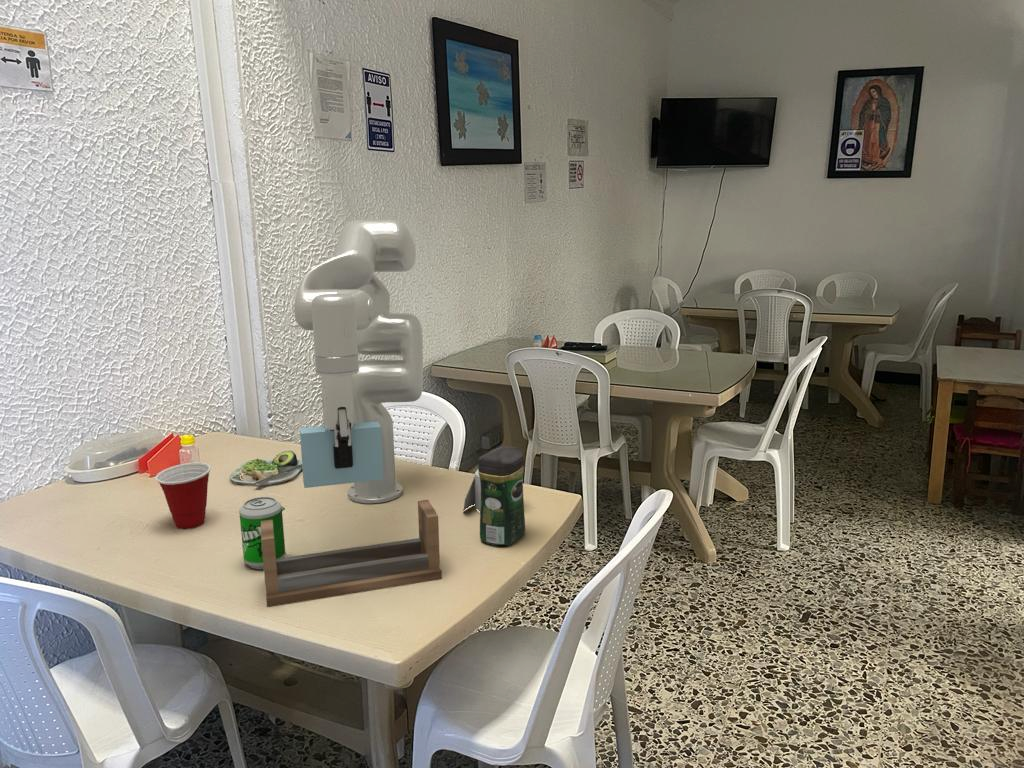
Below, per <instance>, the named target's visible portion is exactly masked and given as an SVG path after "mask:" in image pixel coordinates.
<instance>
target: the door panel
mask: <svg viewBox="0 0 1024 768" xmlns="http://www.w3.org/2000/svg"><path fill="white" fill-rule="evenodd" d="M336 429H340V428H339V426H336ZM337 434H338V435H340V433H337ZM350 436H351V445H352V455H353V466H352V467H349V468H339V469H336V468H335V466H334V449H333V447H334V446H335V440H334V430H330V432H328V431H327V430H326V429H325V426H324V425H319V426H318V425H317V426H309V427H308V426H305V427H299V437H300V439H299V440H300V453H301V455H300V456H301V461H302V470H301V471H302V481H303V487H304V489H309V488H318V487H327V486H337V485H338V486H339V485H346V484H354V483H356V482H365V481H375V480H384V478H383V456H382V434H381V426H380V424H379V422H378V421H376V422H364V423H354V428H353V429H352V430H351V429H350Z"/></svg>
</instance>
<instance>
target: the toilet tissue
mask: <svg viewBox="0 0 1024 768" xmlns="http://www.w3.org/2000/svg"><path fill="white" fill-rule="evenodd" d="M463 504H464V505H463V510H462V511H464V510H465V509H466V508H468V507H469V506H471V505H474V504H475V508H476V509H478V510H479V511H480V510H481V484H480V477H479V473H478V469H477V470H475V473H474V477H473V479H472V482H471V484H470V486H469V489H468V491H467V493H466V496H465V498H464V502H463Z"/></svg>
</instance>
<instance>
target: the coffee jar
mask: <svg viewBox="0 0 1024 768" xmlns="http://www.w3.org/2000/svg"><path fill="white" fill-rule="evenodd" d="M477 461H478V466H477V467H478V468H477V470H478V473H479V477H480V484H481V510H480V514H479V515H480V517H479V539H480V540H481V541H482V542H483V543H486V544H487V543H489V544H488V545H490V544H493V545H492V546H494V545H508V546H510V545H509V544H511V543H512V544H514V543H516V542H517V541H518V540H519V539H521V538H522V537H523V536H524V534H525V532H526V521H525V520H526V519H525V518H526V517H525V503H524V471H525V470H524V469H525V459H524V454H523V452H522V451H521V449H520V448H519V447H515V446H509V445H500V446H499V447H496V448H494V449H492V450H489V451H487V452H486V453H484V454H482V455H481V456H479V457H478V460H477ZM522 535H523V536H522ZM521 536H522V537H521ZM520 537H521V538H520ZM516 540H517V541H516ZM515 541H516V542H515ZM513 542H514V543H513ZM512 544H511V545H512Z"/></svg>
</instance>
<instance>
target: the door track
mask: <svg viewBox="0 0 1024 768" xmlns="http://www.w3.org/2000/svg"><path fill="white" fill-rule="evenodd" d="M417 515H418V517H417V519H418V538H411V539H403V540H397V541H389V542H384V543H383V542H382V543H376V544H369V545H362V546H355V547H350V548H348V547H347V548H341V549H335V550H334V549H333V550H328V551H327V550H326V551H319V552H315V553H314V552H312V553H307V554H299V555H291V556H285V557H284V558H277V559H276V553H275V542H274V530H273V520H265V521H261V541H262V553H263V564H264V569H263V574H264V584H265V585H264V586H265V596H266V597H265V598H266V607H267V608H268V607H269V608H270V607H273V606H281V605H287V604H292V603H298V602H300V603H301V602H306V601H311V600H312V601H313V600H318V599H325V598H329V597H330V598H332V597H337V596H344V595H348V594H350V595H351V594H354V593H361V592H366V591H367V592H368V591H373V590H378V589H379V590H380V589H384V588H391V587H393V588H394V587H398V586H404V585H410V584H416V583H424V582H428V581H429V582H430V581H436V580H441V579H443V576H442V572H443V571H442V569H441V565H440V564H441V563H440V559H441V558H440V534H439V533H440V532H439V529H440V527H439V515H438V513H437V511H436V510H435V509H434V507H433V505H432V503H431V502H430V499H423V500H422V499H421V500H417Z"/></svg>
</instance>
